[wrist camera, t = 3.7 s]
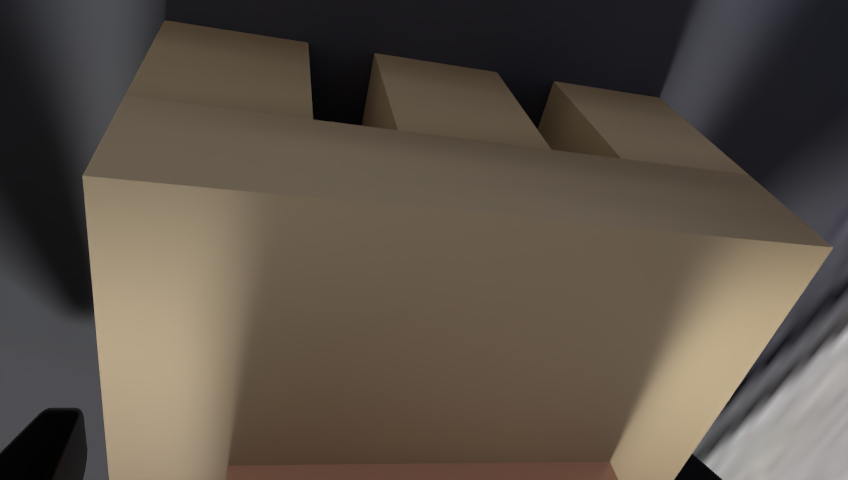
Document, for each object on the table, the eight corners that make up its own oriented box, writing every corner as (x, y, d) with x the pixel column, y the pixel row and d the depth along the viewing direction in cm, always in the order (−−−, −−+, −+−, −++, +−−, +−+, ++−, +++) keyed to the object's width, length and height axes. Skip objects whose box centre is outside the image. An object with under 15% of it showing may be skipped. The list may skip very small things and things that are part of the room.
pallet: (466, 527, 14) (510, 718, 11) (169, 538, 12) (133, 763, 10) (653, 92, 8) (833, 247, 6) (167, 15, 7) (82, 175, 4)
